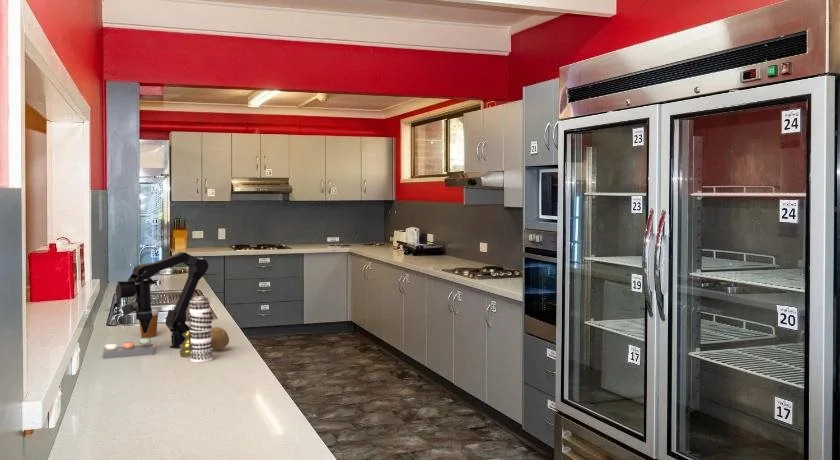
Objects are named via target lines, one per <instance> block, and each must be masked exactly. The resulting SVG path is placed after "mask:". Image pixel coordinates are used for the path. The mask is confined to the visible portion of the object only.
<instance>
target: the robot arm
mask: <svg viewBox="0 0 840 460" xmlns="http://www.w3.org/2000/svg"><path fill="white" fill-rule="evenodd" d="M182 263H183V264H184V265H186V266H188V268H187V272H188V273H187V279H186V281H185V283H184V286H183V289H182V291H181V293H180V296H179V299H178V301H177V303H176V305H175V307H174V308H173V310H170V309H168V311H167V315H166V317H164V319H165V323H164V324H165V326H166V327H167V328H168V329H169V331H170V332H171V345H170V346H169V348H173V349H180V344H182V343H183V342H184V341H185V337H184V336H183V335H182V334H183V333H184V332H186V331H190V329H189V327H190V325H189V324H186V321H187V311H188V307H190V302H189V301H191V299H192V298H193V297H194V293H195V291H196V288H197V285H198V283H199V281H200V280H201V279H202V278H203V277H204V276H205V274H206V272H207V271H208V269H209V262H208V261H207V260H206V259H204V258H197V257H195V256H193V255H191V254H189V253H187V252H183V251H179V252H178V253H175V254H173V255H171V256H168V257H164V258H162V259H160V260H156V261H154V262H147V263H141V264H140V263H139V264H137V265H135V266H134V267H133V270H132V273H131V275H130V276H129V278H128V279H127V280H126V281H125V280H124V281H121V280H118V281H117V285H116V287H115V295H116V297H117V299H124V298H125V299H126V298H133V297H134V296H135V299H134V301H133V302H130V303H127V304H124V305H123V306H121V311H122V313H123V315H124V316H127V315H129V314H130V313H133V312H135V320H136V321H138V322H139V321H140V322H141V325H142V329H143V333H146V332H147V330H148V327H149V324H150V321H151V319H152V309H153V308H152V296H151V295H152V293H151V285H155V284H156V281H154V280H153V279H152V277H154V276H156V274H157V273H159V272H161V271H164V270H166V269H168V268H171V267H174V266H177V265H178V264H179V265H180V264H182Z"/></svg>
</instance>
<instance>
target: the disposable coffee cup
mask: <svg viewBox="0 0 840 460" xmlns="http://www.w3.org/2000/svg"><path fill="white" fill-rule="evenodd" d="M159 313H160V312H159V309H157V308H152V319H151V321H150V324H149V327H148V330H147V332H146V333H143V329H142V325H141V322H140V321H139V320H138V323H139V329H140V334H141V338H154V337H157V333H158V332H157V330H158V319H159V315H160V314H159Z"/></svg>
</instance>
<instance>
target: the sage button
mask: <svg viewBox="0 0 840 460" xmlns="http://www.w3.org/2000/svg"><path fill="white" fill-rule="evenodd" d="M151 338H152V337H149V338H144V337H140V338H139V341H138V343H139V345H147V344H152V341H151Z"/></svg>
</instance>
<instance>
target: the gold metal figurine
mask: <svg viewBox="0 0 840 460" xmlns="http://www.w3.org/2000/svg"><path fill="white" fill-rule="evenodd" d="M182 335H183V336H184V337H185V341H184V342H183V343H182V344H180V348H179V349H180V350H179V356H180V357H181V358H191V357H190V356H191V353H190V351H191V350H192V349H190V347H191V345H190V343H191V332H190V331H186V332H184V333H183V334H182Z"/></svg>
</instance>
